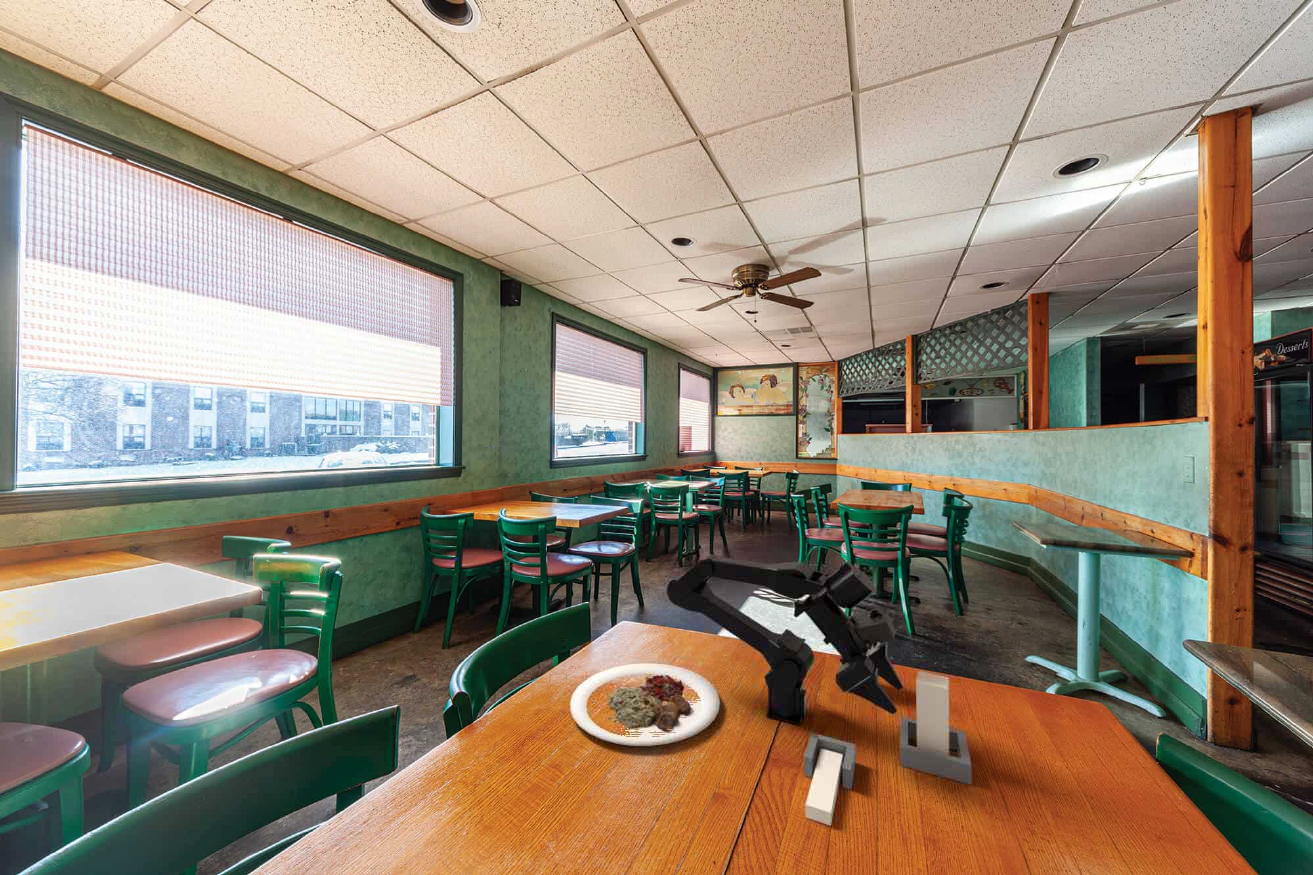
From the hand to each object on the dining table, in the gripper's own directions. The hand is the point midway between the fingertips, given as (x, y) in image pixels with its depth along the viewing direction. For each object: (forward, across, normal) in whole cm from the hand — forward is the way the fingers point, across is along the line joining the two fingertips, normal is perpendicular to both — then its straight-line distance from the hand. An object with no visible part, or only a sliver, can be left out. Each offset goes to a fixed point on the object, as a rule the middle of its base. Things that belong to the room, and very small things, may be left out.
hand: (898, 699), depth 84 cm
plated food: (-25, -12, +38) cm, 47 cm away
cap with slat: (0, -17, +12) cm, 20 cm away
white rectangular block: (+10, 0, +2) cm, 10 cm away
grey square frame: (+9, 0, +2) cm, 10 cm away
